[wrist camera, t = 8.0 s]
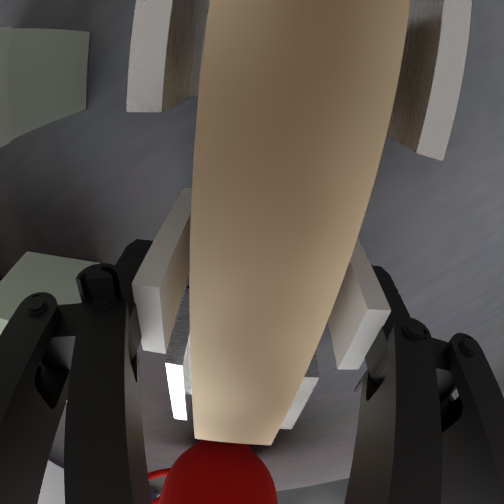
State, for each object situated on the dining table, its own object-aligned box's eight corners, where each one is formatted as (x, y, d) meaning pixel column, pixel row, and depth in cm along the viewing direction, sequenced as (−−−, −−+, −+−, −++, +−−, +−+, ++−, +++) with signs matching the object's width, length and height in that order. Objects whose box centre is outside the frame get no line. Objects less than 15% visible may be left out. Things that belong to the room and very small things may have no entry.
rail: (203, 379, 17) (194, 438, 14) (235, -14, 7) (220, -59, 4) (270, 385, 18) (271, 445, 14) (359, 7, 7) (412, -19, 4)
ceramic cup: (121, 420, 29) (102, 496, 21) (272, 425, 28) (273, 516, 19) (162, 459, 36) (152, 519, 28) (281, 462, 35) (282, 528, 26)
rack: (38, 295, 19) (-10, 371, 13) (1, 53, 10) (-102, 78, 4) (113, 311, 19) (73, 404, 13) (95, 31, 10) (-21, 28, 4)
